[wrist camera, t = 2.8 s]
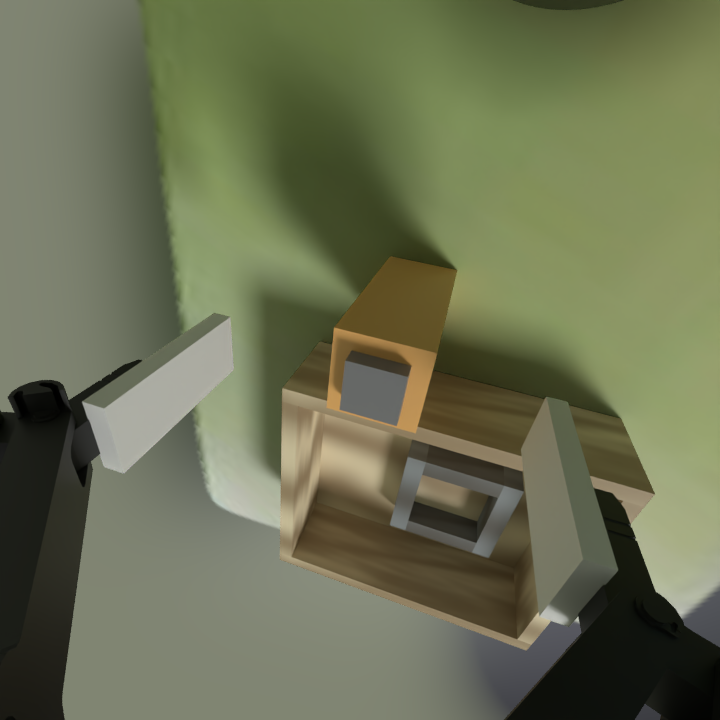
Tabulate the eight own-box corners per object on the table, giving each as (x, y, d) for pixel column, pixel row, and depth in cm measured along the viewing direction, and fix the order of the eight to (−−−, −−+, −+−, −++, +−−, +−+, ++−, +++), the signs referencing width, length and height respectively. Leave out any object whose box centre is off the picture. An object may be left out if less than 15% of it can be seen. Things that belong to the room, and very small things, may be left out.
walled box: (319, 341, 27) (282, 388, 23) (621, 418, 24) (655, 494, 19) (308, 502, 37) (279, 559, 32) (521, 574, 34) (526, 650, 29)
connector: (390, 256, 23) (326, 336, 14) (457, 270, 22) (434, 364, 13) (380, 316, 25) (319, 419, 16) (441, 330, 24) (412, 446, 16)
